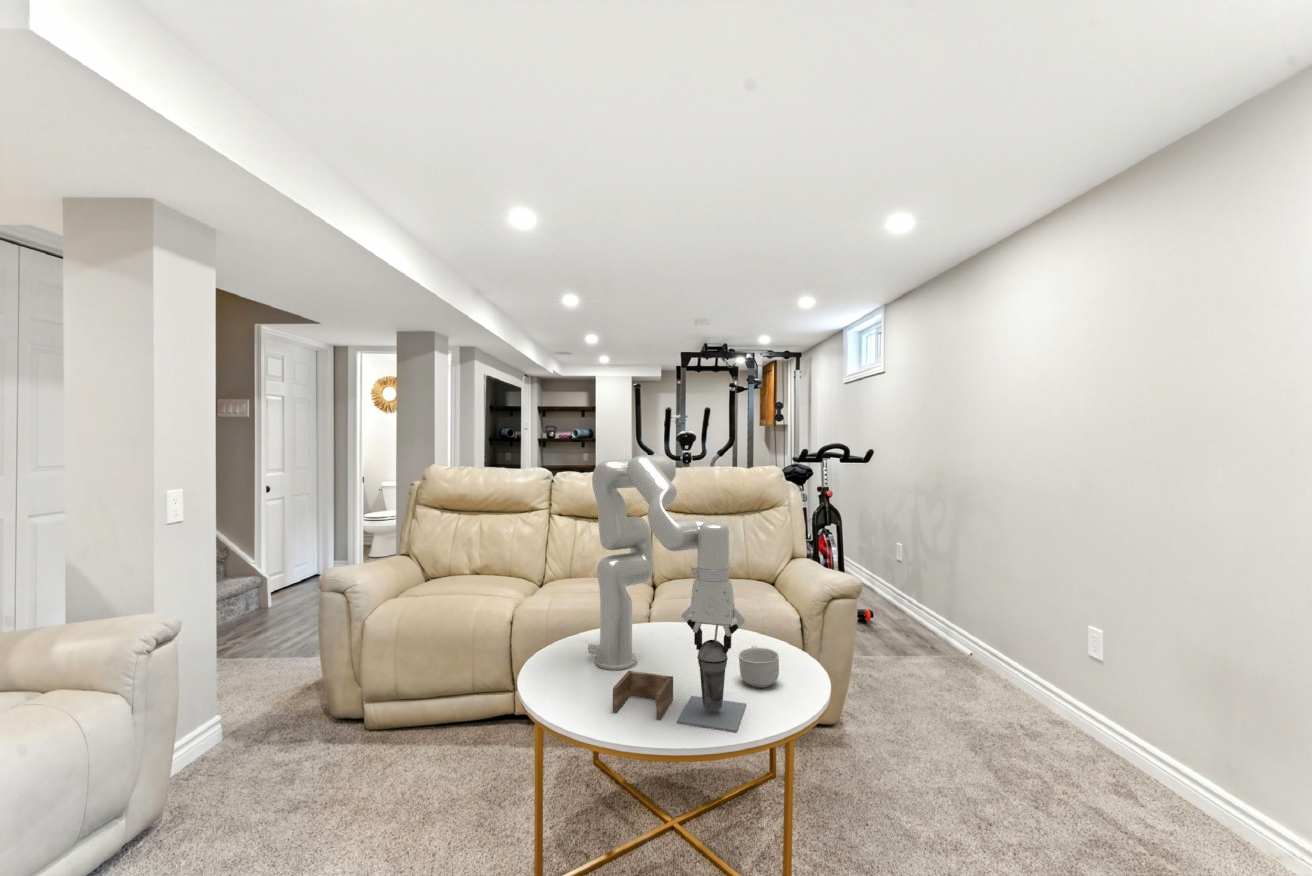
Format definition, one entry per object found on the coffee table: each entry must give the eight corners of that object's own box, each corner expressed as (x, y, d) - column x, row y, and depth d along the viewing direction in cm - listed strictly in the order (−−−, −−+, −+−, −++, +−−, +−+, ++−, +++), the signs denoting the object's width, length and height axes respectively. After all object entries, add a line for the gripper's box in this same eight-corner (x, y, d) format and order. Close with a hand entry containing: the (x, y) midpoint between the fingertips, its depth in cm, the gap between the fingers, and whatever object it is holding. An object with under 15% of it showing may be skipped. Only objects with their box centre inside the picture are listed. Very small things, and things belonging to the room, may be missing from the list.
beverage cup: (695, 699, 140) (695, 617, 140) (724, 698, 140) (724, 617, 141) (699, 713, 132) (699, 627, 133) (730, 712, 133) (730, 626, 133)
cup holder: (612, 712, 137) (612, 687, 137) (628, 693, 147) (628, 670, 147) (660, 720, 133) (660, 694, 133) (673, 700, 143) (673, 676, 144)
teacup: (779, 693, 148) (779, 662, 148) (737, 689, 150) (737, 659, 150) (778, 672, 162) (778, 644, 162) (740, 669, 164) (740, 641, 164)
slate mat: (676, 723, 132) (676, 720, 132) (691, 697, 145) (691, 695, 145) (736, 732, 128) (736, 730, 128) (746, 705, 141) (746, 703, 141)
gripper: (674, 575, 136) (673, 650, 136) (746, 580, 131) (746, 659, 130) (682, 568, 143) (682, 640, 143) (751, 573, 138) (750, 648, 138)
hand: (712, 648), depth 137 cm, fingers closed on beverage cup, 6 cm apart
